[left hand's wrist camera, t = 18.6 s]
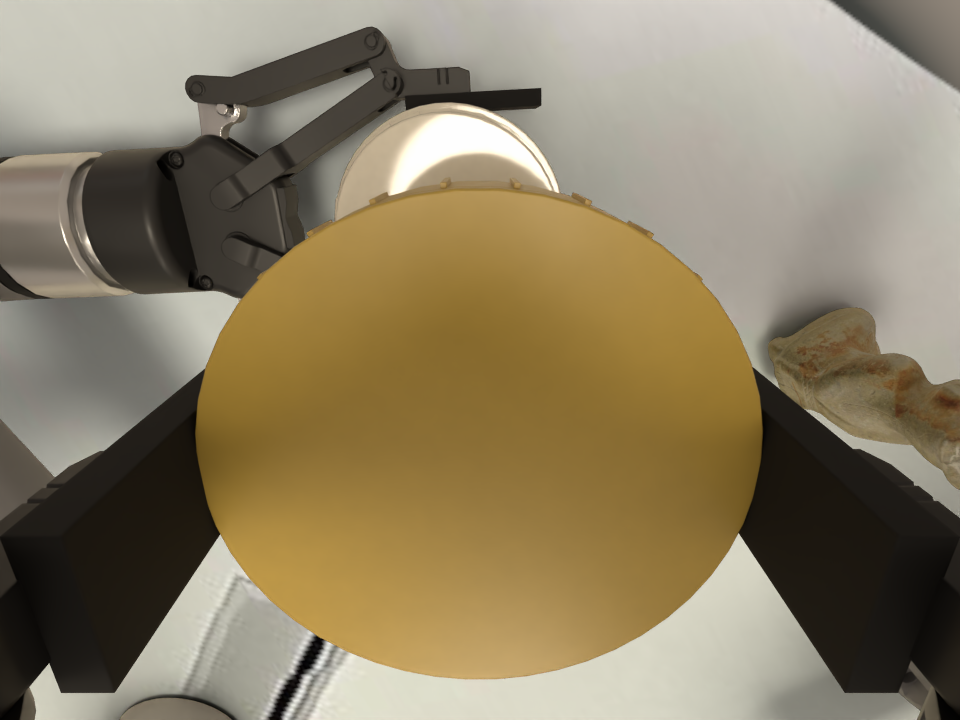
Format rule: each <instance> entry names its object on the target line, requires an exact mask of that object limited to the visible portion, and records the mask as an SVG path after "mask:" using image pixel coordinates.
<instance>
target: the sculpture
mask: <svg viewBox="0 0 960 720" xmlns="http://www.w3.org/2000/svg"><path fill="white" fill-rule="evenodd" d="M768 351H769V356H770V359H771V361H772V362H773V363H774V369H775V371H774V372H775V376H776V379H777V381H778V384H779V387H780V390H781V391H782V392H784V393H785V394H786V395H787V396H789V397H790V398H791V399H792V400H793V401H795V402H796V403H797V404H798V405H800V406H801V407H802V408H803V409H810V410H813V411H816V412H818V413H820V414H822V415H823V416H824V417H826V418H827V419H828V420H829V421H831V422H832V423H834V424H835V425H837V426H838V427H840V428H841V429H843V430H844V431H846V432H847V433H849V434H851V435H853V436H855V437H859V438H864V439H869V440H874V441H880V442H887V443H894V444H904V445H913V446H914V447H915V448H916V449H917V450H918V451H919V453H920V454H921V455H922V456H923V457H924V458H925V459H927V460H928V461H929V462H930V463H932V464H933V465H934V466H936V467H938V468H939V469H941V470H942V471H943V472H944V474H945V476H946V478H947V480H948V481H949V482H950V483H951V484H952V485H953V486H954V487H955V488H957V489H959V490H960V380H952V381H949V382H946V383H943V384H939V385H933V384H931V383H930V382H929V381H928V380H927V378H926V377H925V375H924V373H923V371H922V369H921V367H920V366H919V364H918V363H917V362H916V361H915V360H914V359H912V358H910V357H908V356H905V355H901V354H895V353H890V354H880V349H879V346H878V344H877V342H876V339H875V321H874V319H873V317H872V316H871V314H869V313H868V312H867V311H865V310H863V309H861V308H842V309H838V310H835V311H832V312H830V313H828V314H826V315H824V316H821V317H820V318H818V319H816V320H815V321H813V322H811V323H810V324H808V325H807V326H805V327H804V328H803V329H801V330H800V331H798V332H797V333H795V334H794V335H792V336H789V337H786V338H783V337H777V338H775V339H773V340H771V341H770V342H769V344H768Z"/></svg>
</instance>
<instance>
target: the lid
mask: <svg viewBox="0 0 960 720" xmlns="http://www.w3.org/2000/svg"><path fill="white" fill-rule="evenodd" d="M369 203H370V204H369V205H367V206H365V207H363V208H360V209H358V210H356V211H354V212H352V213H350V214H348V215H346V216H344V217H342V218H341V219H339V220H337V221H335V222H332V220H329V221H328V222H326V223H324V224H322V225H320V226H318V227H316V228H314V229H312V230H310V231H309V232H307V233H306V234H307V235H308V237H309V238H307V239H306V240H304V241H303V242H301V243H299V244H298V245H296V246H295V247H293V248H292V249H291V250H290V251H289V252H288V253H286V254H285V255H284V256H283V257H282V258H281V259H280V260H278V261H277V262H276V263H275V264H274V265H273V266H271V267H270V268H269V269H268V270H266V271H264V272H263V273H261V274H260V275H259V276H258V277H257V279H258V281H257V282H256V283H255V284H254V285H253V286H252V288H251V289H250V290H249V291H248V292H247V293H246V295H245V296H244V297H243V298H242V299H241V300H240V302H239V303H238V305H237V306H236V308H235V310H234V311H233V313H232V314H231V316H230V318H229V319H228V321H227V323H226V324H225V326H224V327H223V329H222V331H221V332H220V334H219V336H218V339H217V341H216V344H215V346H214V348H213V351H212V353H211V356H210V358H209V360H208V363H207V365H206V368H205V373H204V377H203V381H202V385H201V389H200V393H199V397H198V405H197V418H196V430H195V437H196V451H197V457H198V462H199V467H200V472H201V476H202V481H203V485H204V490H205V494H206V499H207V503H208V506H209V509H210V512H211V515H212V517H213V520H214V522H215V525H216V527H217V529H218V531H219V533H220V534H221V536H222V538H223V540H224V542H225V543H226V545H227V547H228V549H229V551H230V552H231V554H232V555H233V557H234V558H235V559H236V561H237V562H238V564H239V565H240V566H241V568H242V569H243V570H244V572H245V573H246V574H247V576H248V577H249V578H250V579H251V580H252V582H253V583H254V584H255V585H256V586H257V587H258V588H259V589H260V590H261V591H262V592H263V593H264V594H265V595H266V596H267V597H268V598H269V600H270V601H272V602H273V603H274V604H275V605H276V606H278V607H279V608H280V609H281V610H282V611H284V612H285V613H286V614H287V615H288V616H290V617H291V618H292V619H293V620H295V621H296V622H298V623H299V624H301V625H302V626H304V627H305V628H307V629H308V630H310V631H311V632H313V633H314V634H316V635H317V636H319V637H320V638H322V639H324V640H326V641H328V642H330V643H332V644H334V645H336V646H338V647H340V648H341V649H343V650H345V651H347V652H350V653H352V654H355V655H358V656H360V657H363V658H365V659H368V660H370V661H373V662H375V663H379V664H382V665H386V666H389V667H393V668H396V669H400V670H403V671H408V672H413V673H418V674H424V675H429V676H435V677H446V678H457V679H502V678H512V677H522V676H530V675H535V674H540V673H545V672H550V671H555V670H559V669H562V668H566V667H569V666H572V665H576V664H579V663H583V662H586V661H588V660H591V659H593V658H596V657H598V656H601V655H603V654H605V653H608V652H610V651H613V650H615V649H617V648H619V647H621V646H623V645H624V644H626V643H628V642H630V641H632V640H634V639H636V638H638V637H639V636H641V635H643V634H644V633H646V632H647V631H649V630H650V629H652V628H653V627H655V626H656V625H658V624H659V623H660V622H662V621H663V620H665V619H666V618H668V617H669V616H670V615H671V614H672V613H673V612H675V611H676V610H677V609H678V608H679V607H680V606H682V605H683V604H684V603H685V602H686V601H687V600H689V599H690V598H691V597H692V596H693V595H694V594H695V592H696V591H697V590H698V589H699V588H700V587H701V586H702V585H703V584H704V583H705V582H706V581H707V579H708V578H709V577H710V576H711V575H712V574H713V572H714V571H715V569H716V568H717V567H718V565H719V564H720V562H721V561H722V560H723V558H724V557H725V555H726V554H727V553H728V551H729V550H730V548H731V546H732V544H733V542H734V540H735V538H736V537H737V535H738V533H739V531H740V529H741V527H742V525H743V523H744V521H745V518H746V515H747V513H748V510H749V507H750V505H751V502H752V499H753V495H754V490H755V486H756V481H757V477H758V472H759V467H760V463H761V455H762V439H763V425H762V415H761V404H760V396H759V392H758V388H757V384H756V380H755V376H754V372H753V368H752V364H751V362H750V359H749V357H748V355H747V352H746V350H745V348H744V345H743V343H742V341H741V339H740V336H739V334H738V332H737V330H736V328H735V327H734V325H733V323H732V322H731V320H730V319H729V317H728V316H727V314H726V312H725V311H724V309H723V308H722V306H721V305H720V303H719V301H718V300H717V299H716V297H715V296H714V295H713V294H712V293H711V292H710V291H709V289H708V288H707V287H706V286H705V285H704V284H703V283H702V280H703V279H702V278H701V277H700V276H699V275H698V274H696V273H695V272H693V271H692V270H691V269H689V268H688V267H687V266H686V265H685V264H684V263H682V262H681V261H680V260H679V259H678V258H676V257H675V256H674V255H673V254H672V253H670V252H669V251H668V250H667V249H666V248H665V247H663V246H662V245H661V244H659V243H658V242H656V241H654V240H653V239H651V238H652V237H653V235H654V234H653V233H651V232H650V231H648V230H646V229H644V228H642V227H640V226H638V225H636V224H634V223H632V222H630V221H628V223H625V222H623V221H621V220H620V219H618V218H616V217H614V216H612V215H610V214H608V213H607V212H605V211H603V210H601V209H598V208H596V207H594V206H592V205H591V203H592V201H591V200H589V199H587V198H585V197H583V196H581V195H579V194H576V193H573V194H572V196H568V195H565V194H561V193H557V192H554V191H550V190H547V189H543V188H539V187H536V186H531V185H523V184H521V183H520V182H519V181H518V180H517V179H516V178H510V183H508V182H501V181H456V182H451V178H450V177H449V178H444V179H443V180H442V181H441V182H440V184H436V185H429V186H422V187H418V188H415V189H411V190H408V191H405V192H401V193H398V194H394V195H391V196H389V195H388V192H385V193H382V194H380V195H378V196H376V197H374V198H372V199H370V200H369Z"/></svg>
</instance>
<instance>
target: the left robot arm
mask: <svg viewBox="0 0 960 720" xmlns="http://www.w3.org/2000/svg"><path fill="white" fill-rule="evenodd" d="M752 368H753V367H752ZM753 372H754V376H755V380H756V384H757V388H758V392H759V396H760V404H761V415H762V425H763V439H762V455H761V463H760V467H759V472H758V477H757V481H756V486H755V490H754V495H753V499H752V502H751V505H750V507H749V510H748V513H747V515H746V518H745V521H744V523H743V525H742V527H741V529H740V531H739V534H740V536H741V537H742V539H743V540H744V542H745V543H746V545H747V546H748V548H749V549H750V551H751V552H752V554H753V555H754V557H755V558H756V560H757V561H758V563H759V564H760V566H761V567H762V569H763V570H764V572H765V573H766V575H767V576H768V578H769V579H770V581H771V582H772V584H773V585H774V587H775V588H776V590H777V591H778V593H779V594H780V596H781V597H782V599H783V600H784V602H785V603H786V605H787V606H788V608H789V609H790V611H791V612H792V614H793V615H794V617H795V618H796V620H797V621H798V623H799V624H800V626H801V627H802V629H803V630H804V632H805V633H806V635H807V636H808V638H809V639H810V641H811V642H812V644H813V645H814V647H815V648H816V650H817V651H818V653H819V655H820V656H821V658H822V659H823V661H824V662H825V664H826V665H827V667H828V668H829V670H830V671H831V673H832V674H833V676H834V677H835V679H836V680H837V682H838V683H839V685H840V686H841V688H842V689H843V691H844V692H845V693H898V692H899V693H900V694H901V695H902V696H903V697H904V698H905V699H907V700H908V701H909V702H910V703H911V704H912V705H914V706H915V707H916V708H918V709H919V710H920V714H919V716H918V718H917V720H960V518H959V517H958V516H956V515H955V514H954V513H953V512H951V511H950V510H949V509H947V508H946V507H945V506H944V505H942V504H941V503H940V502H938V501H933V497H932V496H931V495H929V494H928V493H927V492H926V491H924V490H923V489H922V488H920V487H919V486H914V482H913V481H911V480H910V479H909V478H908V477H906V476H905V475H904V474H902V473H901V472H900V471H899V470H897V469H896V468H895V467H893V466H892V465H891V464H889V463H887V462H885V461H883V460H881V459H879V458H877V457H875V456H873V455H871V454H869V453H867V452H865V451H863V450H861V449H852V448H851V447H850V446H849V445H847V444H846V443H845V442H844V441H842V440H841V439H840V438H839V437H837V436H836V435H835V434H834V433H833V432H831V431H830V430H829V429H828V428H826V427H825V426H824V425H823V424H822V423H820V422H819V421H818V420H817V419H815V418H814V417H813V416H812V415H811V414H809V413H808V412H807V411H806V410H804V409H803V408H802V407H801V406H800V405H798V404H797V403H796V402H795V401H793V400H792V399H791V398H790V397H789V396H787V395H786V394H785V393H784V392H782V391H781V390H780V389H779V388H778V387H776V386H775V385H774V384H773V383H771V382H770V381H769V380H768V379H767V378H765V377H764V376H763V375H762V374H760V373H759V372H758V371H757V370H756V369H754V368H753ZM204 373H205V369H204V370H203V371H202V372H200V373H199V374H198V375H197V376H196V377H194V378H193V379H192V380H191V381H189V382H188V383H187V384H186V385H184V386H183V387H182V388H181V389H180V390H178V391H177V392H176V393H175V394H173V395H172V396H171V397H170V398H169V399H167V400H166V401H165V402H164V403H162V404H161V405H160V406H159V407H158V408H156V409H155V410H154V411H153V412H151V413H150V414H149V415H148V416H147V417H145V418H144V419H143V420H142V421H140V422H139V423H138V424H137V425H136V426H134V427H133V428H132V429H131V430H129V431H128V432H127V433H126V434H125V435H123V436H122V437H121V438H120V439H118V440H117V441H116V442H115V443H114V444H112V445H111V446H110V447H109V448H107V449H106V450H105V451H99V452H97V453H95V454H93V455H91V456H89V457H87V458H85V459H83V460H81V461H79V462H77V463H75V464H73V465H71V466H69V467H68V468H67V469H66V470H64V471H63V472H62V473H60V474H59V475H58V476H57V477H55V478H54V479H53V480H52V481H50V482H49V483H48V484H47V487H46V488H41V489H40V490H39V491H38V492H36V493H35V494H34V495H32V496H31V497H30V498H29V499H27V503H22V504H21V505H20V506H18V507H17V508H16V509H15V510H13V511H12V512H11V513H9V514H8V515H7V516H6V517H4V518H3V519H2V520H1V521H0V720H35V713H36V708H35V702H34V697H33V695H32V693H31V690H30V688H29V687H30V685H31V684H32V683H33V682H34V681H35V679H36V678H37V677H38V676H39V675H40V673H41V672H42V671H43V670H44V669H45V667H46V666H47V665H48V664H49V663H50V666H51V668H52V671H53V673H54V676H55V678H56V681H57V683H58V686H59V689H60V691H61V693H115V692H116V690H117V689H118V687H119V686H120V684H121V682H122V681H123V679H124V678H125V676H126V675H127V673H128V672H129V670H130V669H131V667H132V666H133V664H134V663H135V661H136V660H137V658H138V657H139V655H140V654H141V652H142V651H143V649H144V648H145V646H146V645H147V643H148V642H149V640H150V639H151V637H152V636H153V634H154V633H155V631H156V630H157V628H158V627H159V625H160V624H161V622H162V621H163V619H164V618H165V616H166V615H167V613H168V612H169V610H170V609H171V607H172V606H173V604H174V603H175V601H176V600H177V598H178V597H179V595H180V594H181V592H182V591H183V589H184V588H185V586H186V585H187V583H188V582H189V580H190V579H191V577H192V576H193V574H194V573H195V571H196V570H197V568H198V567H199V565H200V564H201V562H202V561H203V559H204V558H205V556H206V555H207V553H208V552H209V550H210V549H211V547H212V546H213V544H214V543H215V541H216V540H217V538H218V537H219V535H220V533H219V531H218V529H217V527H216V525H215V522H214V520H213V517H212V515H211V512H210V509H209V506H208V503H207V499H206V494H205V490H204V485H203V481H202V476H201V472H200V467H199V462H198V457H197V451H196V437H195V430H196V418H197V405H198V397H199V393H200V389H201V385H202V381H203V377H204Z"/></svg>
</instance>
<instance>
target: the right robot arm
mask: <svg viewBox="0 0 960 720" xmlns="http://www.w3.org/2000/svg"><path fill="white" fill-rule="evenodd" d="M367 68H371V70H372V72H373V75H374V78H373V79H371V80H370V81H369V82H367V83H366V84H364V85H363V86H361V87H360V88H359V89H357V90H356V91H354V92H353V93H352V94H350V95H349V96H347V97H346V98H344V99H343V100H342V101H340V102H339V103H337V104H336V105H335V106H333V107H332V108H330V109H329V110H327V111H326V112H325V113H323V114H322V115H320V116H319V117H318V118H316V119H315V120H313V121H312V122H310V123H309V124H308V125H306V126H305V127H303V128H302V129H300V130H299V131H298V132H296V133H295V134H293V135H292V136H291V137H289V138H288V139H286V140H285V141H283V142H282V143H280V144H279V145H276V146H274V147H272V148H270V149H269V150H267V151H266V152H265V153H263V154H262V155H260V156H259V155H257V154H255V153H254V152H252V151H251V150H249V149H247V148H246V147H244V146H243V145H241V144H240V143H238V142H236V141H235V140H233V139H232V138H230V137H229V131H230V128H231V127H232V126H233V125H234V124H237V123H241V122H243V121H244V120H245V119H246V116H247V107H256V106H262V105H266V104H270V103H272V102H275V101H278V100H281V99H284V98H286V97H289V96H292V95H295V94H297V93H300V92H303V91H306V90H309V89H311V88H314V87H317V86H320V85H323V84H325V83H328V82H331V81H334V80H336V79H339V78H342V77H345V76H348V75H350V74H353V73H356V72H359V71H362V70H364V69H367ZM185 89H186V92H187V95H188V96H189V97H190V99H192V100H193V101H194V102H198V109H199V117H200V124H201V132H202V136H200V137H198V138H197V139H196V140H194V141H193V142H192V143H190V144H188V145H186V146H183V147H167V148H149V149H130V150H114V151H108V152H106V153H104V154H102V153H99V152H79V153H58V154H38V155H20V156H17V157H3V158H0V301H13V300H27V299H48V298H75V297H102V296H125V295H128V294H132V293H138V294H160V293H180V292H200V291H219V292H223V293H226V294H228V295H230V296H232V297H235V298H238V300H239V302H240V300H241V299H242V298H243V297H244V296H245V295H246V293H247V292H248V291H249V290H250V289H251V288H252V286H253V285H254V284H255V283H256V282H257V281H258V279H257V277H258V276H259V275H260V274H261V273H263V272H264V271H266V270H268V269H269V268H270V267H271V266H273V265H274V264H275V263H276V262H277V261H278V260H280V259H281V258H282V257H283V256H284V255H285V254H286V253H288V252H289V251H290V250H291V249H292V248H293V247H295V246H296V245H298V244H299V243H301V242H303V241H304V240H305V235H304V229H303V226H302V224H301V222H300V219H299V217H298V215H297V210H298V194H297V188H296V185H293V184H292V182H291V180H290V178H291V177H293V176H294V175H296V174H297V173H299V172H300V171H301V170H303V169H304V168H306V167H307V166H308V165H309V164H310V163H311V162H313V161H314V160H315V159H317V158H318V157H320V156H321V155H323V154H324V153H326V152H327V151H329V150H330V149H331V148H333V147H334V146H336V145H337V144H339V143H340V142H342V141H343V140H345V139H346V138H347V137H349V136H350V135H352V134H353V133H355V132H356V131H358V130H359V129H361V128H362V127H363V126H365V125H366V124H368V123H369V122H371V121H372V120H374V119H375V118H377V117H378V116H379V115H381V114H382V113H384V112H385V111H387V110H388V109H390V108H391V107H393V106H394V105H395V104H397V103H398V102H400V101H401V100H405V104H406V111H407V110H409V109H412V108H415V107H418V106H423V105H428V104H433V103H461V104H469V105H473V106H477V107H481V108H484V109H486V110H489V111H499V110H517V109H535V108H537V107H539V106H541V88H534V89H516V90H498V91H480V92H470V73H469V71H468V70H465V69H463V68H460V67H450V68H432V69H414V70H408V69H404V68H402V67H400V66H399V64H398V62H397V60H396V57H395V55H394V53H393V50H392V47H391V44H390V42H389V40H388V39H387V38H386V37H385V36H384V35H383V34H382V33H381V32H380V31H379V30H378V29H377V28H374V27H366V28H363V29H361V30H358V31H355V32H353V33H350V34H347V35H344V36H342V37H339V38H336V39H334V40H331V41H328V42H325V43H323V44H320V45H317V46H315V47H312V48H309V49H306V50H304V51H301V52H298V53H295V54H293V55H290V56H287V57H285V58H282V59H279V60H276V61H274V62H271V63H268V64H266V65H263V66H260V67H257V68H255V69H252V70H249V71H247V72H244V73H241V74H238V75H236V76H233V77H223V76H204V75H194V76H191V77H189V78H188V79H187V81H186V83H185ZM54 478H55V477H54V476H53V475H52V474H51V473H50V472H49V471H48V470H47V469H46V468H45V467H44V465H43V464H42V463H41V462H40V461H39V460H38V459H37V458H36V457H35V456H34V455H33V454H32V453H31V452H30V450H29V449H28V448H27V447H26V446H25V445H24V444H23V443H22V442H21V441H20V440H19V439H18V438H17V436H16V435H15V434H14V433H13V432H12V431H11V430H10V429H9V428H8V427H7V426H6V425H5V424H4V423H3V421H2V420H1V419H0V521H1V520H2V519H3V518H4V517H6V516H7V515H8V514H9V513H11V512H12V511H13V510H15V509H16V508H17V507H18V506H20V505H21V504H22V503H27V499H29V498H30V497H31V496H32V495H34V494H35V493H36V492H38V491H39V490H40V489H41V488H46V487H47V484H48V483H49V482H50V481H52V480H53V479H54Z"/></svg>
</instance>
